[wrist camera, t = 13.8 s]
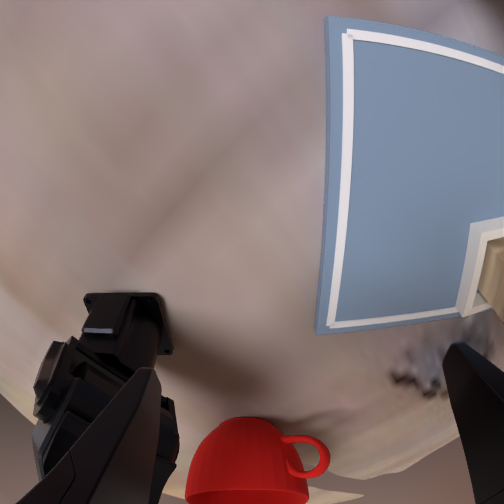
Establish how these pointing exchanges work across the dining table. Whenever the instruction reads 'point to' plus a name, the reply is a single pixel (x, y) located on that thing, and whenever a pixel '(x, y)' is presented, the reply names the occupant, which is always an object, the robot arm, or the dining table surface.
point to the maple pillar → (493, 276)
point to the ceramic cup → (251, 465)
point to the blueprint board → (404, 171)
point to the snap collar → (476, 265)
